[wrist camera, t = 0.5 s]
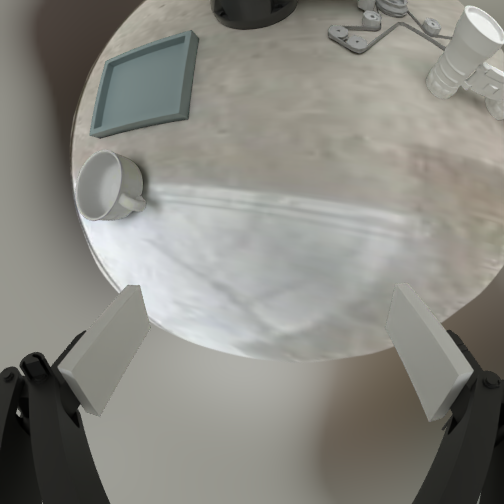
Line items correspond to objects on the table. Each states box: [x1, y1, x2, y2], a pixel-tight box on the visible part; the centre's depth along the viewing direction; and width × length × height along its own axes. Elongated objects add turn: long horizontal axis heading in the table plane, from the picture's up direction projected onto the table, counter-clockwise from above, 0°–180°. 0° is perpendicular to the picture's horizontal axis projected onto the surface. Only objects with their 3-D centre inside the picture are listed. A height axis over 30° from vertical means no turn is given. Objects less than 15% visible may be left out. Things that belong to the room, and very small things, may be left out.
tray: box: [90, 30, 199, 138], centre depth 38 cm, size 17×20×3 cm
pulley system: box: [328, 0, 452, 53], centre depth 25 cm, size 27×5×15 cm
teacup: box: [75, 150, 146, 221], centre depth 38 cm, size 14×11×8 cm
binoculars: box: [426, 6, 504, 120], centre depth 17 cm, size 17×5×18 cm, turn 84°
